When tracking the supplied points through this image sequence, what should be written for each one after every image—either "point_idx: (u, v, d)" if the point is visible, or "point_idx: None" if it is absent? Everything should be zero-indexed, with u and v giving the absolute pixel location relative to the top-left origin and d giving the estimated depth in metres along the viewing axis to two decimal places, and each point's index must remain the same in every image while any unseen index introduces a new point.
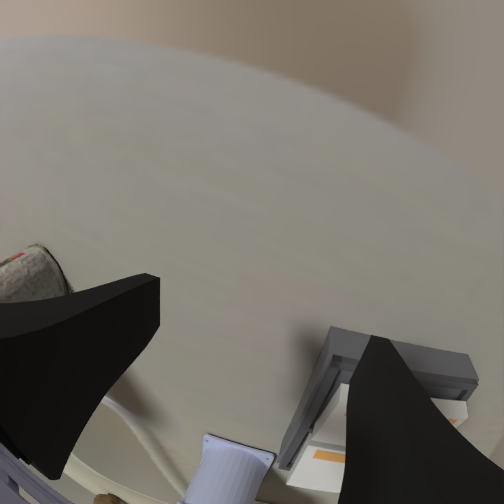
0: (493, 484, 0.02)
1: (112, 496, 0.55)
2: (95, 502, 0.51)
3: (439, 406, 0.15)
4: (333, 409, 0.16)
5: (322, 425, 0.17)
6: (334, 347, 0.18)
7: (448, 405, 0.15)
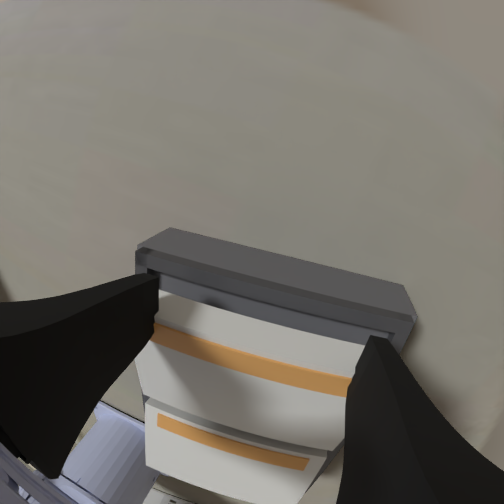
0: (491, 485, 0.02)
1: None
2: None
3: (323, 348, 0.10)
4: None
5: (136, 362, 0.12)
6: (152, 241, 0.13)
7: (346, 351, 0.10)
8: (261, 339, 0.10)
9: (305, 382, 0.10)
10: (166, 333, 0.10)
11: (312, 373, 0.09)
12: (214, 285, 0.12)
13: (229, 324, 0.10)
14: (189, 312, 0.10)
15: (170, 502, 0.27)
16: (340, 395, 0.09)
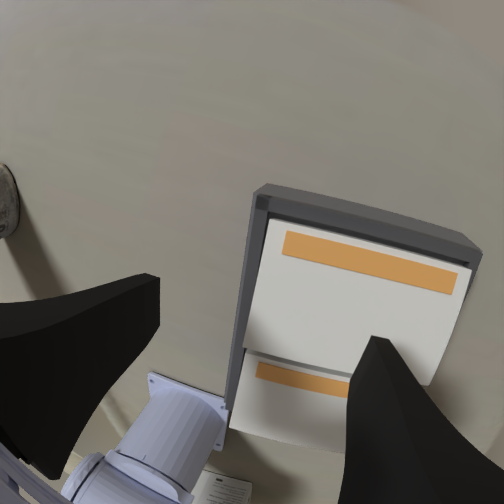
0: (492, 485, 0.02)
1: None
2: None
3: (422, 255, 0.12)
4: (265, 243, 0.13)
5: (254, 294, 0.13)
6: (263, 190, 0.15)
7: (436, 259, 0.12)
8: (383, 245, 0.12)
9: (417, 280, 0.12)
10: (309, 241, 0.12)
11: (424, 266, 0.11)
12: (333, 224, 0.13)
13: (356, 238, 0.13)
14: (324, 230, 0.13)
15: (216, 481, 0.29)
16: (442, 290, 0.11)
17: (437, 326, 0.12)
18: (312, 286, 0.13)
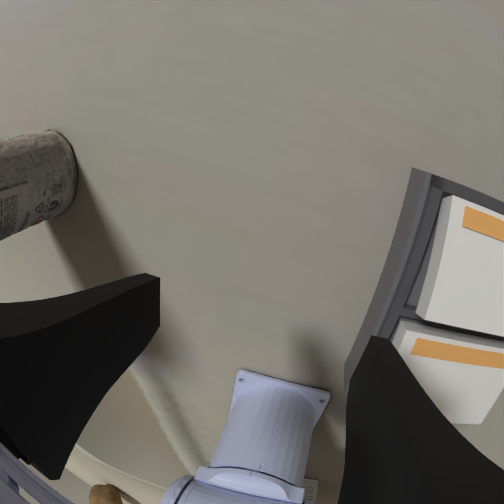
0: (492, 485, 0.02)
1: (111, 487, 0.51)
2: (92, 493, 0.46)
3: None
4: (448, 217, 0.12)
5: (439, 265, 0.12)
6: None
7: None
8: None
9: None
10: (480, 216, 0.11)
11: None
12: (488, 206, 0.12)
13: None
14: None
15: None
16: None
17: None
18: (481, 256, 0.12)
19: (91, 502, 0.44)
